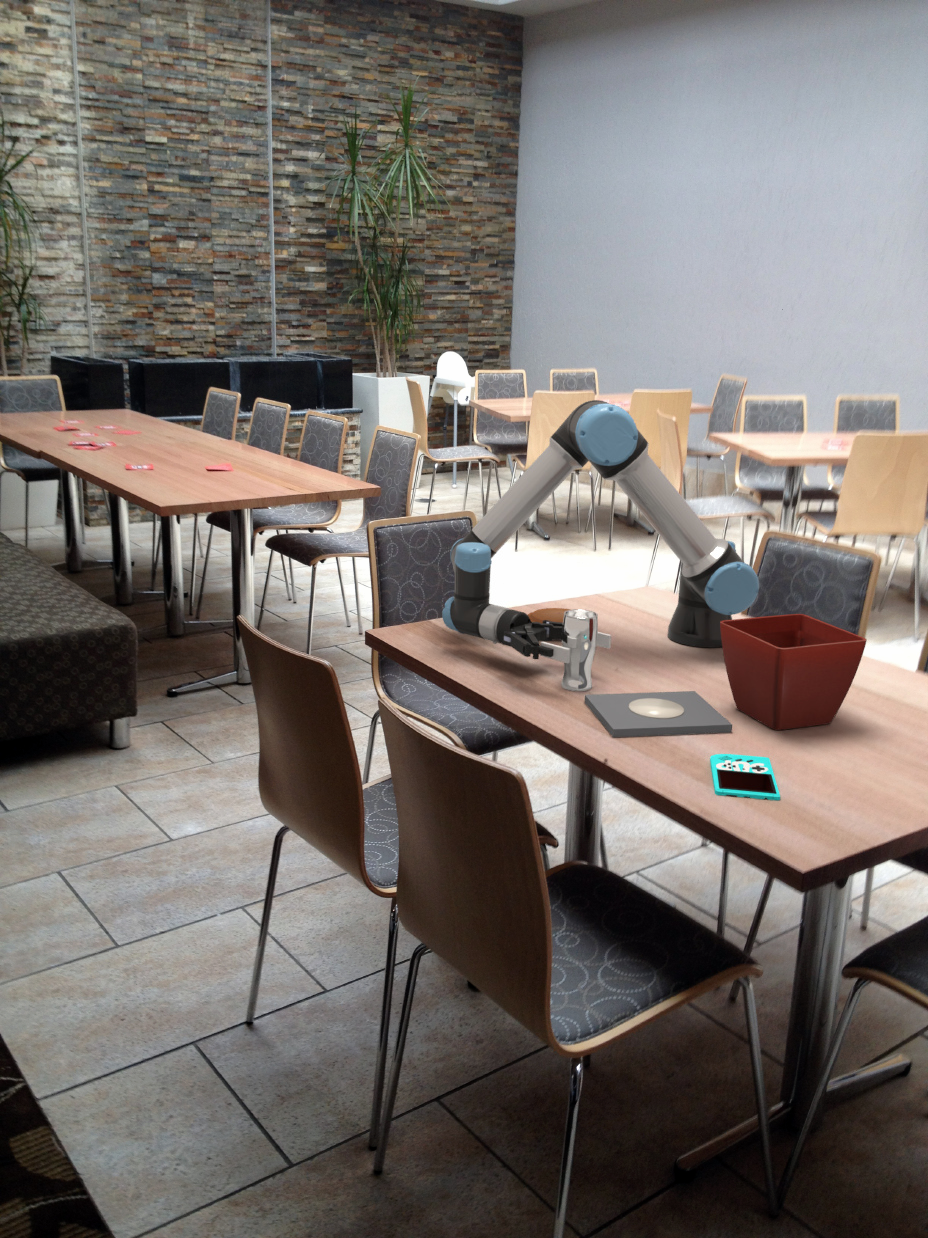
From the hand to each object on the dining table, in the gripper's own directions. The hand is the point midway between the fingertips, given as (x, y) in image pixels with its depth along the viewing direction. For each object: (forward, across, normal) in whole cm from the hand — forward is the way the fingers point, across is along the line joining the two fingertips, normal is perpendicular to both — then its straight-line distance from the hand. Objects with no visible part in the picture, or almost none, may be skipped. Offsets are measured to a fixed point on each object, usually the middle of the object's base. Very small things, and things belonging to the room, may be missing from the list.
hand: (589, 648), depth 213 cm
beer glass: (-3, 0, -9) cm, 9 cm away
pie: (-28, -28, -9) cm, 40 cm away
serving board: (+18, +3, -8) cm, 20 cm away
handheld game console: (+43, +16, -9) cm, 47 cm away
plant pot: (+34, -15, -9) cm, 38 cm away
